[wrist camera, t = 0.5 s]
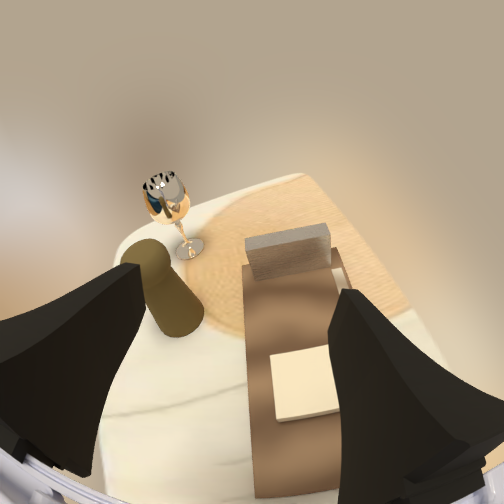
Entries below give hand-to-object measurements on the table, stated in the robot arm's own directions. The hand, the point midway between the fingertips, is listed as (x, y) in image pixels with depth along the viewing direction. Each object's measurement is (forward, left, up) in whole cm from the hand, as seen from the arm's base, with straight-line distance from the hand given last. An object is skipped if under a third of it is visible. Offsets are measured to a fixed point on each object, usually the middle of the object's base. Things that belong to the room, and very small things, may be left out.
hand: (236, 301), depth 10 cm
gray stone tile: (+16, -3, -18) cm, 24 cm away
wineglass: (+25, +11, -18) cm, 33 cm away
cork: (+13, +11, -18) cm, 25 cm away
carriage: (+2, -4, -16) cm, 17 cm away
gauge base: (+5, -3, -18) cm, 19 cm away
